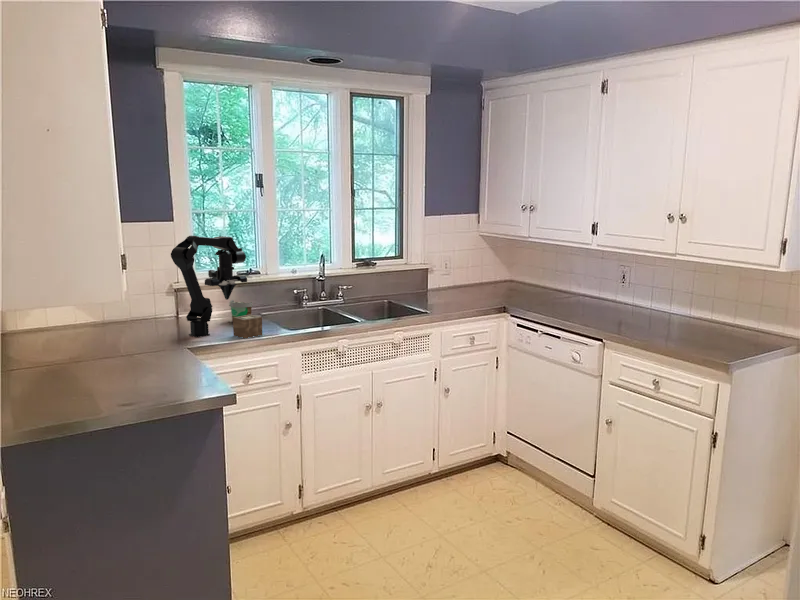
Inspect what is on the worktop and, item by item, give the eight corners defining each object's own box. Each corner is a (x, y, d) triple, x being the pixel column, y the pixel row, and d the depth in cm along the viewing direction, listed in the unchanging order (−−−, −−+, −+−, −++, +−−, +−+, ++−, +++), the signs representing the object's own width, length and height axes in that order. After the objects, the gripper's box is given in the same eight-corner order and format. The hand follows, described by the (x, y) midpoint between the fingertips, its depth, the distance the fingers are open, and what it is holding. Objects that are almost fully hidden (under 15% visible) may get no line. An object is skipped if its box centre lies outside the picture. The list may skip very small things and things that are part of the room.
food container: (224, 322, 289) (223, 301, 287) (233, 320, 294) (232, 299, 292) (244, 325, 283) (243, 304, 281) (253, 323, 288) (252, 302, 287)
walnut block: (244, 338, 257) (244, 320, 256) (233, 335, 262) (232, 317, 261) (262, 335, 264) (261, 316, 262) (251, 332, 269) (250, 314, 267)
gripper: (232, 261, 285) (234, 295, 287) (196, 265, 270) (198, 299, 273) (247, 263, 277) (248, 297, 280) (211, 267, 263) (212, 302, 266)
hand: (227, 299), depth 275 cm, fingers closed
